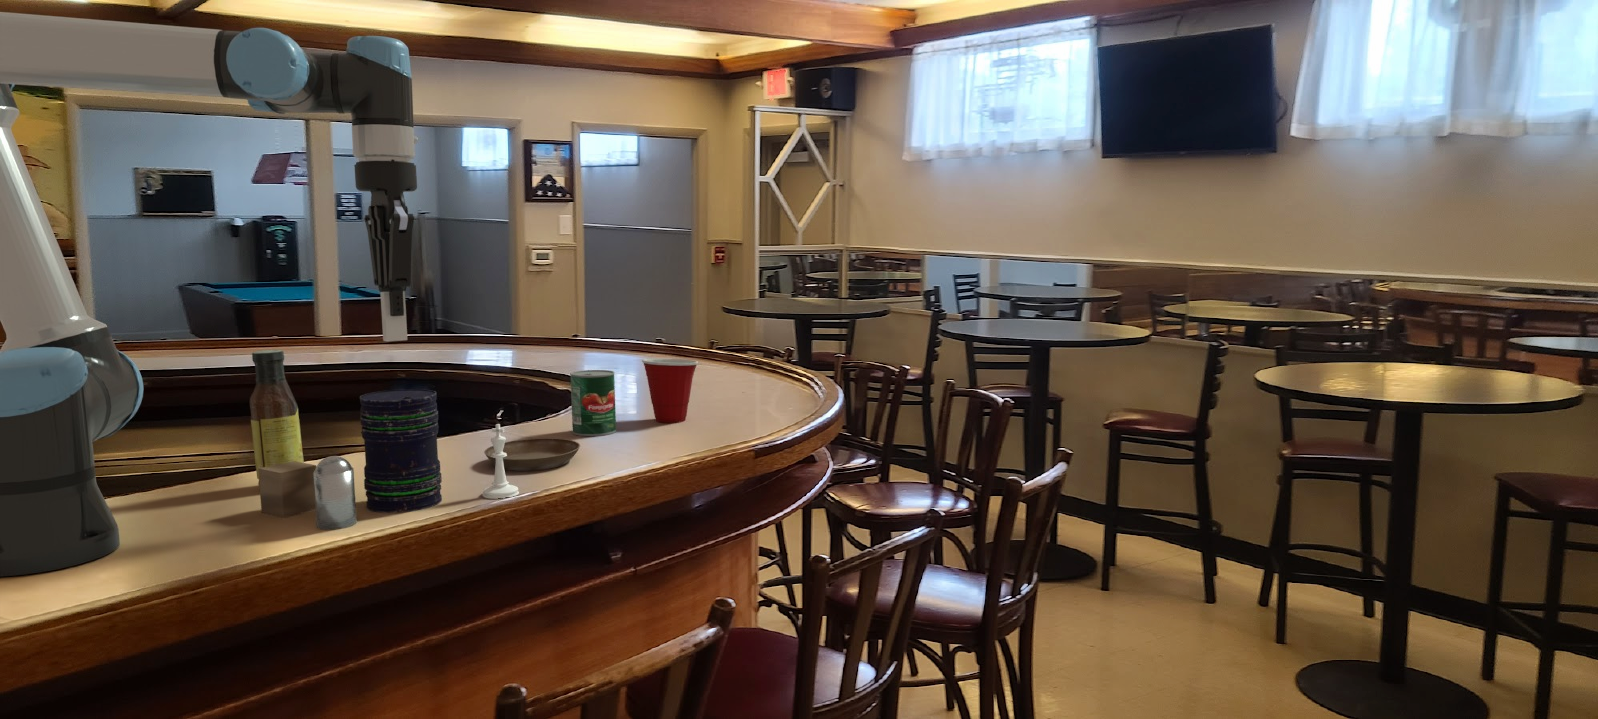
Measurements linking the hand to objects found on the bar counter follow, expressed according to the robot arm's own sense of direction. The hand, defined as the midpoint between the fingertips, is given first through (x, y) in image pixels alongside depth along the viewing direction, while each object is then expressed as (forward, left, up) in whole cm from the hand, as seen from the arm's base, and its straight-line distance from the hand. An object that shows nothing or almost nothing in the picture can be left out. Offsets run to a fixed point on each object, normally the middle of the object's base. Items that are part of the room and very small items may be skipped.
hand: (395, 340), depth 139 cm
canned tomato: (+43, +28, -23) cm, 56 cm away
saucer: (+24, +12, -23) cm, 35 cm away
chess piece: (+12, -4, -23) cm, 26 cm away
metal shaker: (-10, -5, -22) cm, 25 cm away
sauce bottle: (-11, +21, -23) cm, 33 cm away
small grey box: (-13, +6, -22) cm, 27 cm away
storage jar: (0, 0, -23) cm, 23 cm away
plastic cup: (+60, +29, -23) cm, 70 cm away
